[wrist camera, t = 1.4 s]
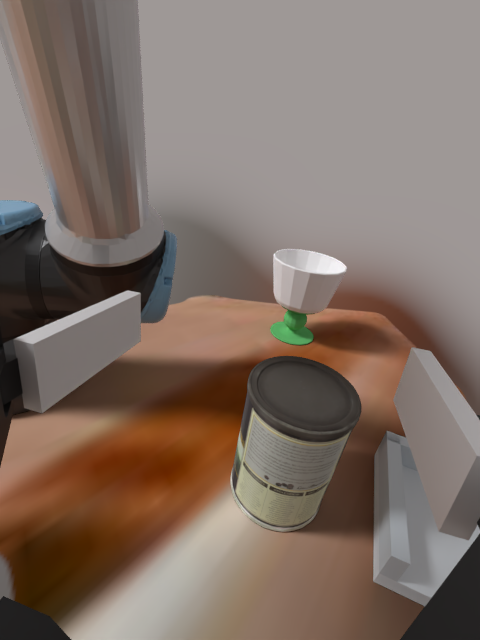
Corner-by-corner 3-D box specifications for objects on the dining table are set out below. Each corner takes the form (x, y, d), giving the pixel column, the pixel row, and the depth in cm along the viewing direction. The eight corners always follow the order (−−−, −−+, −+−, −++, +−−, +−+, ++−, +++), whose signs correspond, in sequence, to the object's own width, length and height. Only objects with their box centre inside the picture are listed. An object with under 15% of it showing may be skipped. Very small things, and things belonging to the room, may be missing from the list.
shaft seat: (571, 677, 25) (635, 642, 22) (373, 581, 29) (402, 539, 26) (485, 450, 45) (511, 414, 42) (374, 411, 49) (391, 376, 46)
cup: (333, 333, 69) (356, 263, 61) (310, 361, 58) (334, 280, 51) (277, 311, 75) (292, 244, 67) (246, 332, 64) (260, 256, 57)
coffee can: (217, 457, 38) (232, 361, 31) (291, 439, 42) (318, 350, 35) (251, 549, 30) (281, 446, 23) (340, 515, 34) (387, 419, 27)
